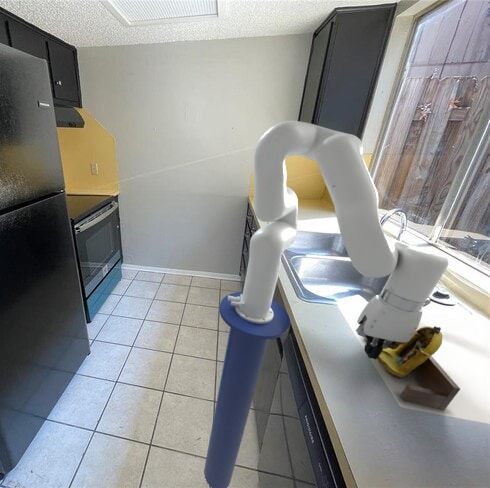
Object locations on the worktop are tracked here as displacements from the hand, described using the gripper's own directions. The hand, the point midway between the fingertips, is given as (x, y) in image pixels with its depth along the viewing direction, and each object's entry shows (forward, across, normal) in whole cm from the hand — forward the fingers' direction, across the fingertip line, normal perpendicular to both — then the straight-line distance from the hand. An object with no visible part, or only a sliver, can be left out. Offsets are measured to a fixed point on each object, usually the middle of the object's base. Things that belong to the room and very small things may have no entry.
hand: (369, 354), depth 68 cm
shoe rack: (+2, -7, 0) cm, 7 cm away
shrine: (+2, -7, +2) cm, 8 cm away
